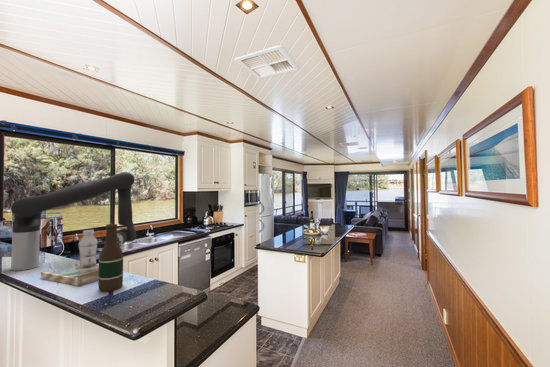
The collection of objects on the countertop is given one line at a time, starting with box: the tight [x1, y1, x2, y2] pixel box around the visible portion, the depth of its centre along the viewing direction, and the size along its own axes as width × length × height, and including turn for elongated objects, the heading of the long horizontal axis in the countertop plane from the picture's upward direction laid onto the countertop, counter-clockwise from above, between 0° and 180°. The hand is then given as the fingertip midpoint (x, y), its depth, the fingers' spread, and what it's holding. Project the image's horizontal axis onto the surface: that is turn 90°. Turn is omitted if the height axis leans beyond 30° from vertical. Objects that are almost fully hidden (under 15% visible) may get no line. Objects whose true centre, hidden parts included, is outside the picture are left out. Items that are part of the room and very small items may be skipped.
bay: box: [40, 262, 99, 287], centre depth 106 cm, size 24×14×4 cm, turn 70°
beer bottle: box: [97, 223, 124, 293], centre depth 94 cm, size 8×8×24 cm
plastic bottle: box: [78, 229, 99, 275], centre depth 104 cm, size 6×7×20 cm
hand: (94, 249), depth 108 cm, fingers open, 8 cm apart
